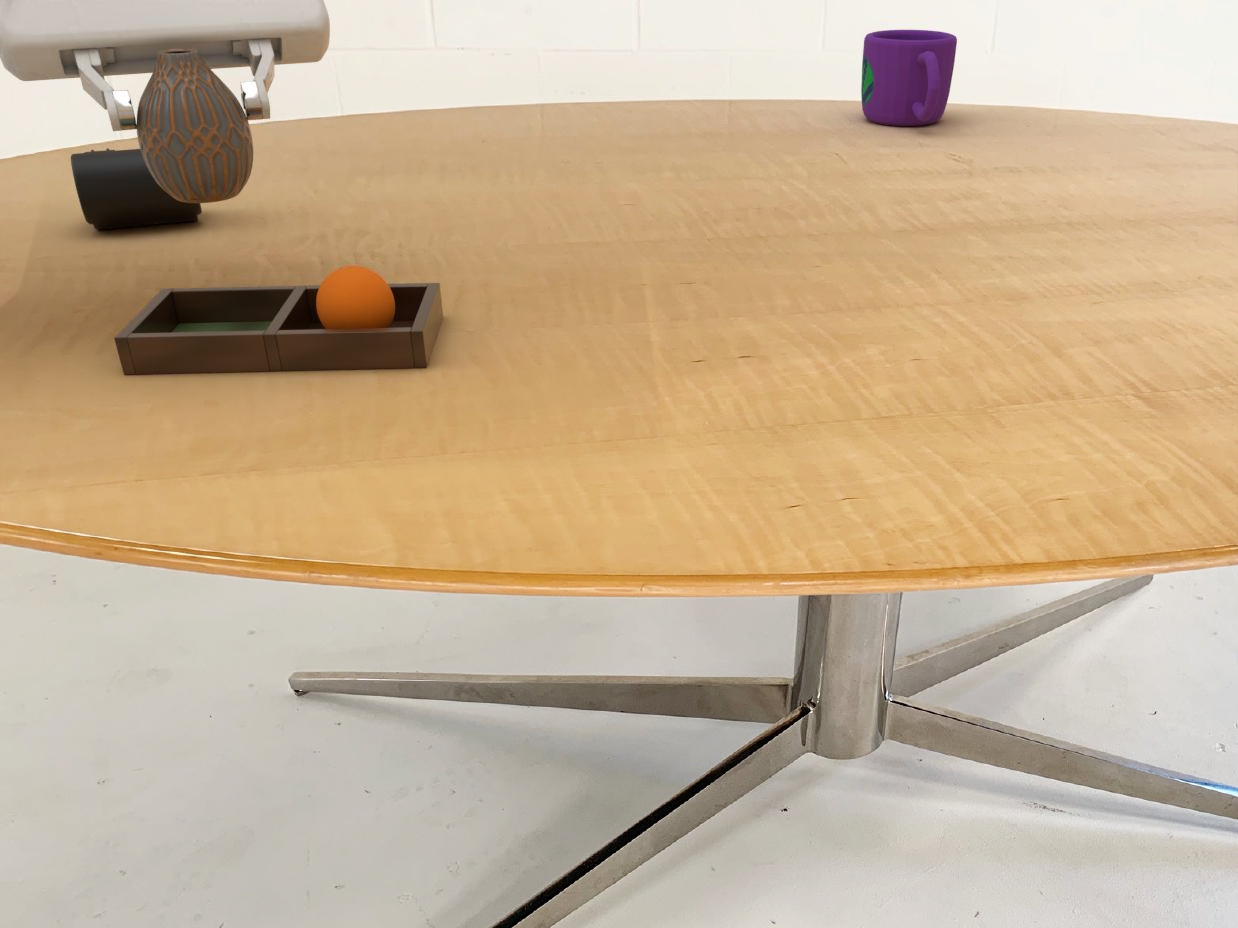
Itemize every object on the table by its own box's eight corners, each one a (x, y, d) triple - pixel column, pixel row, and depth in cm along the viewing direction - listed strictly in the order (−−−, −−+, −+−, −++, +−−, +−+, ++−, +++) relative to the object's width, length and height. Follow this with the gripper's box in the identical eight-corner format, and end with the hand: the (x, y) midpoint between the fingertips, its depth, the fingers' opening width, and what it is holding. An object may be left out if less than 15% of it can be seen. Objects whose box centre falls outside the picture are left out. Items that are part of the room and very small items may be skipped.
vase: (143, 191, 78) (110, 48, 73) (248, 179, 81) (222, 40, 76) (162, 214, 73) (127, 62, 68) (272, 201, 76) (247, 53, 71)
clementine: (315, 356, 78) (303, 280, 76) (330, 330, 83) (318, 257, 80) (394, 355, 79) (383, 278, 76) (404, 328, 83) (395, 255, 80)
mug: (848, 113, 155) (854, 30, 149) (931, 111, 156) (940, 28, 150) (884, 139, 140) (892, 48, 135) (975, 137, 141) (987, 46, 136)
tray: (125, 383, 76) (113, 337, 74) (172, 330, 85) (162, 288, 83) (428, 376, 77) (422, 331, 75) (444, 324, 85) (439, 282, 84)
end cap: (89, 239, 105) (68, 161, 102) (91, 220, 111) (71, 145, 107) (205, 228, 108) (189, 151, 105) (201, 210, 114) (186, 137, 110)
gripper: (303, -36, 83) (353, 135, 81) (-17, -24, 76) (28, 164, 73) (304, -108, 77) (358, 75, 75) (-42, -102, 70) (6, 99, 68)
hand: (192, 119), depth 74 cm, fingers closed on vase, 7 cm apart
